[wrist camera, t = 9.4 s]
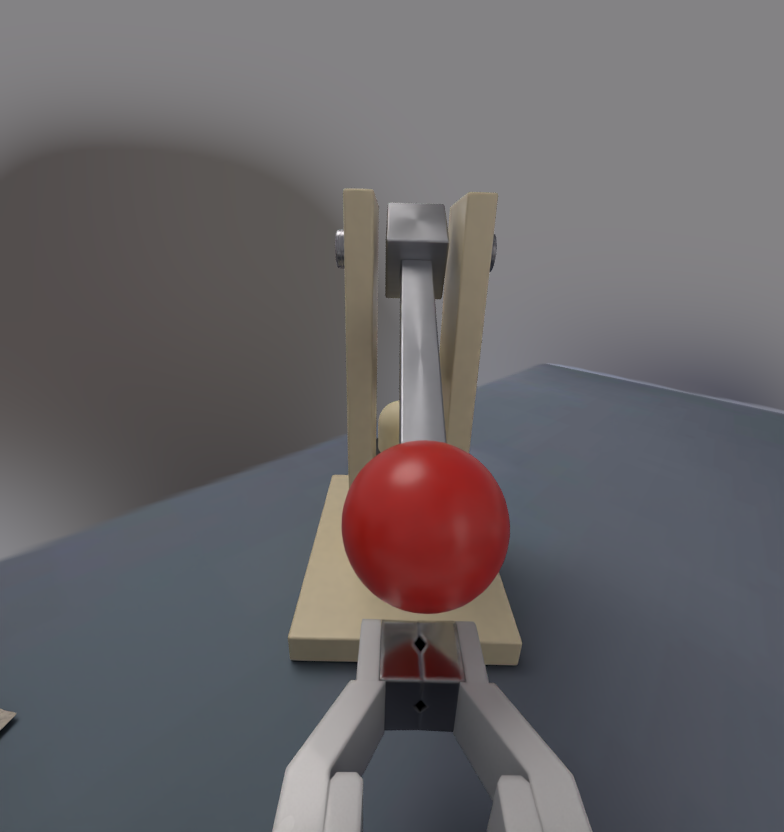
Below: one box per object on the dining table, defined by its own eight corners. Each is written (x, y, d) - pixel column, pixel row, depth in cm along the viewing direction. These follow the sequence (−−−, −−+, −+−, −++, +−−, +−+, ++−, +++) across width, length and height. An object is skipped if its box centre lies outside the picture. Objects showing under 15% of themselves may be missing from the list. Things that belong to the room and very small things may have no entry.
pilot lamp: (428, 455, 32) (433, 391, 30) (434, 488, 27) (440, 416, 25) (368, 454, 32) (369, 389, 30) (364, 486, 27) (364, 414, 25)
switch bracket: (518, 666, 16) (625, 171, 9) (289, 661, 16) (235, 160, 9) (466, 494, 27) (498, 215, 20) (332, 491, 27) (322, 210, 20)
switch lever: (499, 630, 9) (553, 589, 6) (340, 627, 9) (321, 584, 6) (452, 273, 18) (465, 187, 15) (371, 270, 18) (369, 184, 15)
